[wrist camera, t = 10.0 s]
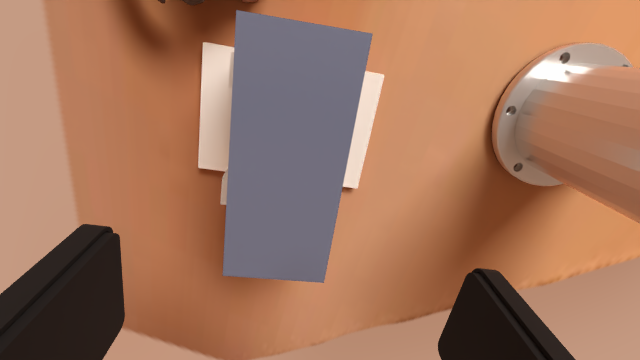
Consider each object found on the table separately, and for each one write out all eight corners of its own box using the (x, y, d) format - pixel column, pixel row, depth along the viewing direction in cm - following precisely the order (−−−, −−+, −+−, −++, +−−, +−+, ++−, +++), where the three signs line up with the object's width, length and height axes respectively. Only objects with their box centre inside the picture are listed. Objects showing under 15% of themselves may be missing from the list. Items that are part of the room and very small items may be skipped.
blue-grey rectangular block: (353, 35, 19) (372, 33, 15) (317, 237, 25) (323, 282, 20) (249, 17, 19) (236, 10, 14) (235, 230, 24) (222, 275, 19)
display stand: (381, 73, 27) (409, 84, 21) (355, 184, 31) (372, 222, 25) (206, 42, 25) (177, 42, 19) (201, 163, 29) (175, 199, 23)
